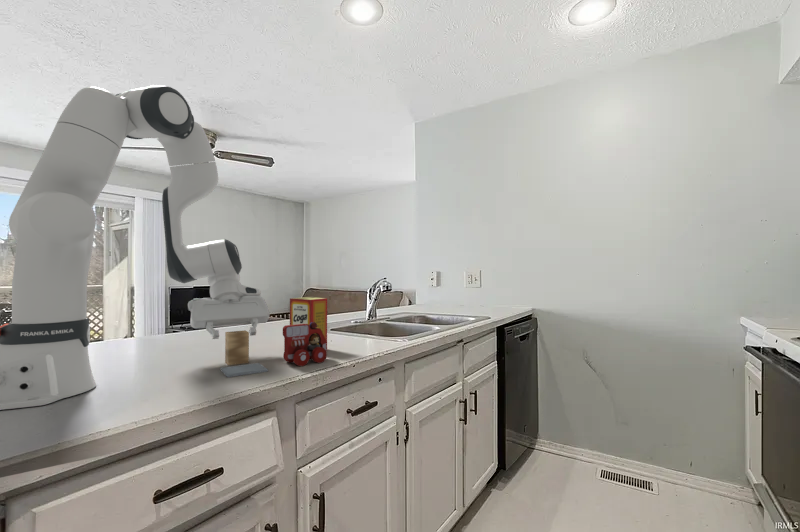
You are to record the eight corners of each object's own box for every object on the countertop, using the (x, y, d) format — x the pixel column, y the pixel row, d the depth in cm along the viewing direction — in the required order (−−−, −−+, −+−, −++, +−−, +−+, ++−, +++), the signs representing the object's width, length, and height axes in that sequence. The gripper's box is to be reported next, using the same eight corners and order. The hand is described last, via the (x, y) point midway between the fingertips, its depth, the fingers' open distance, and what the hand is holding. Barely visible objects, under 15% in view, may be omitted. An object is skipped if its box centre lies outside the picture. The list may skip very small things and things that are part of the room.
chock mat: (227, 377, 87) (227, 375, 87) (220, 369, 94) (220, 367, 94) (267, 371, 93) (267, 369, 93) (258, 364, 99) (258, 362, 99)
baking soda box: (327, 349, 119) (327, 297, 120) (311, 352, 114) (311, 298, 114) (305, 345, 125) (305, 296, 125) (289, 349, 119) (289, 297, 119)
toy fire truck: (333, 360, 104) (333, 322, 104) (290, 368, 95) (290, 326, 96) (319, 356, 109) (319, 319, 109) (277, 364, 100) (277, 323, 101)
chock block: (228, 365, 99) (228, 334, 99) (225, 362, 102) (225, 332, 102) (248, 362, 102) (248, 332, 102) (245, 359, 105) (245, 330, 105)
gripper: (188, 291, 104) (192, 332, 96) (265, 289, 116) (275, 325, 108) (186, 306, 108) (190, 347, 100) (261, 303, 120) (270, 339, 112)
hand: (235, 335), depth 104 cm, fingers open, 8 cm apart
